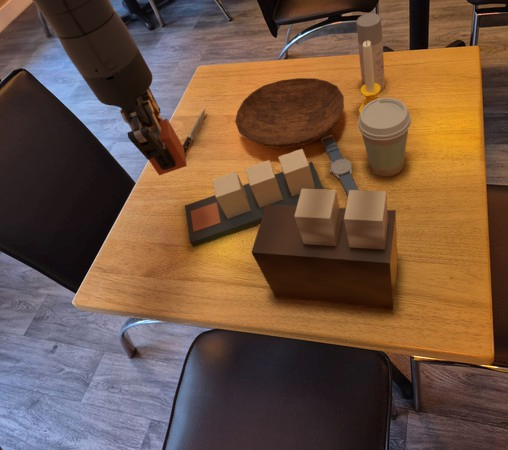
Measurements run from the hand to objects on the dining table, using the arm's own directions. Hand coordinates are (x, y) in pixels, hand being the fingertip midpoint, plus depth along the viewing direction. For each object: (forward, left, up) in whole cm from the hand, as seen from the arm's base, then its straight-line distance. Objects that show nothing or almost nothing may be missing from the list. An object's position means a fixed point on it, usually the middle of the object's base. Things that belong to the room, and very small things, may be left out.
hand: (167, 155), depth 66 cm
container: (+21, -40, -17) cm, 48 cm away
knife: (+25, -1, -17) cm, 30 cm away
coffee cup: (-1, -34, -17) cm, 38 cm away
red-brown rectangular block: (0, 0, -1) cm, 1 cm away
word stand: (-20, -18, -17) cm, 32 cm away
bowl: (+17, -21, -17) cm, 32 cm away
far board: (0, -9, -17) cm, 19 cm away
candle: (+14, -37, -17) cm, 43 cm away
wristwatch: (+1, -26, -17) cm, 31 cm away
